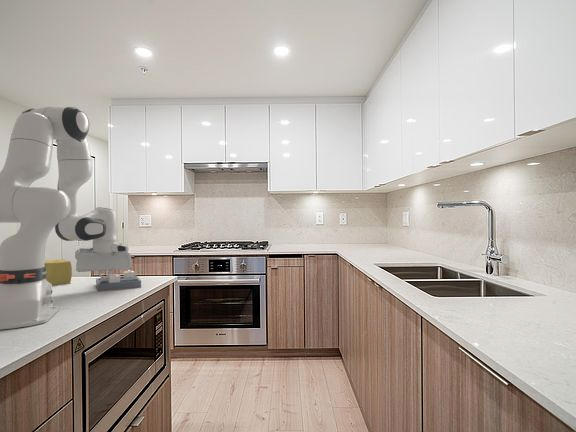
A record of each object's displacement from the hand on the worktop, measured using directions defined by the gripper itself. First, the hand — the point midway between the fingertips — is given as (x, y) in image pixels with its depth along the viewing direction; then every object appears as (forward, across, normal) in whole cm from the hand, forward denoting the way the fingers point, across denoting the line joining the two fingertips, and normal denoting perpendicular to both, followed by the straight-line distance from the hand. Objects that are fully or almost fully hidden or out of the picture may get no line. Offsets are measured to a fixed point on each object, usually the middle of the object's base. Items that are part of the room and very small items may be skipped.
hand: (104, 281), depth 143 cm
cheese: (+4, -18, +23) cm, 29 cm away
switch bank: (+3, +5, +4) cm, 7 cm away
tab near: (+2, +4, 0) cm, 4 cm away
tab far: (+2, +10, +8) cm, 13 cm away
